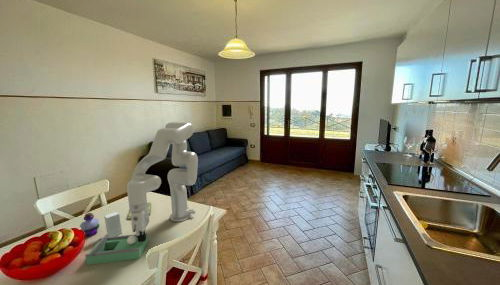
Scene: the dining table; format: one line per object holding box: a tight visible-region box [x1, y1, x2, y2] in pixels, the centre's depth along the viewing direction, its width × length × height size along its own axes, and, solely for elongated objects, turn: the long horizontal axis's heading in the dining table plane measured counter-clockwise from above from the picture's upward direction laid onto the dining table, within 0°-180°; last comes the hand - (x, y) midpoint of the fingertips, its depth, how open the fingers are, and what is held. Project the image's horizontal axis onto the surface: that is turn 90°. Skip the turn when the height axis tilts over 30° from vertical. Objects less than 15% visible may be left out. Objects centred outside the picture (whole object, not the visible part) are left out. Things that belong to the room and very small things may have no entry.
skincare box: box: [104, 211, 123, 237], centre depth 113 cm, size 6×4×12 cm
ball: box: [127, 234, 136, 245], centre depth 100 cm, size 4×4×4 cm
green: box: [84, 232, 149, 266], centre depth 99 cm, size 22×12×6 cm, turn 100°
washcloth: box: [127, 201, 152, 220], centre depth 138 cm, size 13×18×3 cm
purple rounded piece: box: [79, 212, 100, 238], centre depth 114 cm, size 9×9×12 cm
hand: (142, 240), depth 101 cm, fingers closed
